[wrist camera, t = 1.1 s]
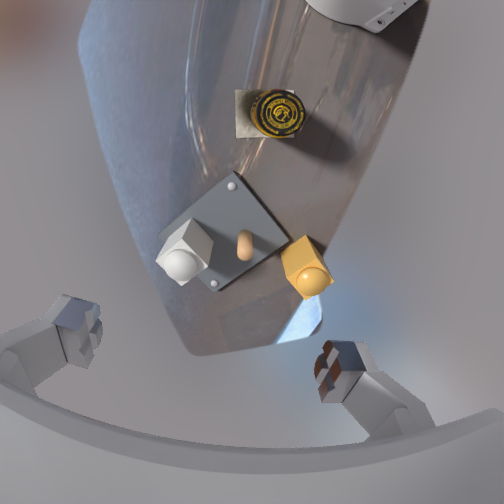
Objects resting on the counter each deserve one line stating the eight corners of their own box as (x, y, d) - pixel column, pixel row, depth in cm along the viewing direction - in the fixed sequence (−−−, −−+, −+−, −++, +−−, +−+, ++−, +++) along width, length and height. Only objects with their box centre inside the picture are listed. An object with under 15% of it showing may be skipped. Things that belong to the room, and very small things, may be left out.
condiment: (294, 137, 39) (312, 145, 29) (236, 137, 39) (233, 145, 28) (293, 90, 36) (312, 80, 25) (235, 90, 36) (231, 79, 25)
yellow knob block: (305, 234, 46) (318, 260, 38) (321, 256, 48) (336, 285, 40) (280, 252, 48) (287, 281, 40) (297, 273, 50) (306, 304, 42)
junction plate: (233, 170, 41) (230, 186, 32) (288, 237, 46) (298, 269, 37) (159, 233, 45) (139, 262, 36) (214, 289, 51) (208, 326, 41)
